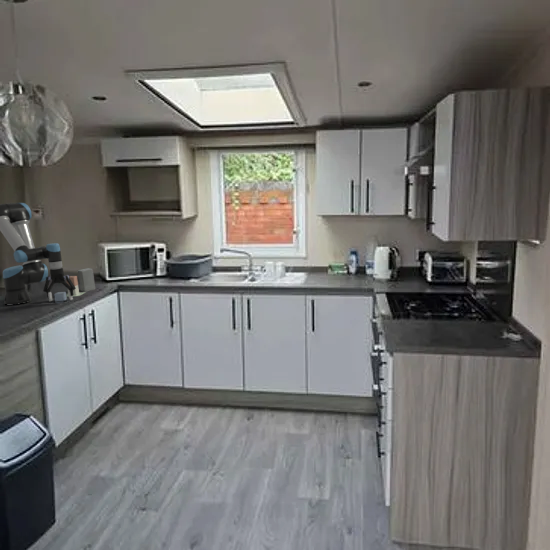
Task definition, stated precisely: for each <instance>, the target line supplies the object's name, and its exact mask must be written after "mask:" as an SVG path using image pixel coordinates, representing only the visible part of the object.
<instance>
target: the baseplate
mask: <svg viewBox="0 0 550 550" xmlns="http://www.w3.org/2000/svg"><path fill="white" fill-rule="evenodd" d="M86 293H87V291H79V294H77V295H73V296H72V297H80V296H82V295H83V294H86ZM66 297H68V298H69V295H68V293H66Z"/></svg>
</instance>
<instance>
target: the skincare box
mask: <svg viewBox="0 0 550 550" xmlns="http://www.w3.org/2000/svg"><path fill="white" fill-rule="evenodd" d="M77 279H78V285H79V289H80V290H79V292H89V291H93V290H96V284H95V283H96V281H95V275H94V269H93V268H88V267H86V268H83V269H78V270H77Z"/></svg>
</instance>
